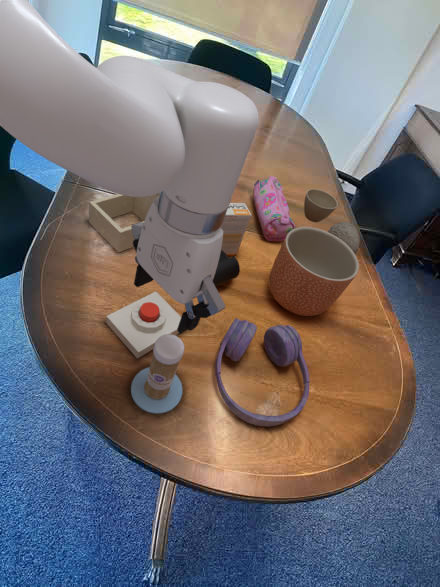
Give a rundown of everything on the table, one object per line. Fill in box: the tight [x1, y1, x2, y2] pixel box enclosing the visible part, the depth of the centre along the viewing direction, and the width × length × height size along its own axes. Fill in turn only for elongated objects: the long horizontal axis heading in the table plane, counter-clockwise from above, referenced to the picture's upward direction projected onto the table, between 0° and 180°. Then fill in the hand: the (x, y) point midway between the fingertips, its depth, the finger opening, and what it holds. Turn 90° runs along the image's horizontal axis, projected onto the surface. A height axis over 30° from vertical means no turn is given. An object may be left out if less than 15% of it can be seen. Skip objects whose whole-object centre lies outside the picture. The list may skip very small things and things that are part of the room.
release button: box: [139, 302, 160, 322], centre depth 73 cm, size 4×4×2 cm
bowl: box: [303, 188, 339, 223], centre depth 118 cm, size 10×10×7 cm
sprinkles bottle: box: [144, 334, 185, 399], centre depth 63 cm, size 5×5×14 cm
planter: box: [268, 226, 360, 317], centre depth 88 cm, size 17×17×15 cm
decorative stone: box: [327, 221, 360, 255], centre depth 107 cm, size 10×8×10 cm
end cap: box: [213, 250, 241, 288], centre depth 87 cm, size 10×7×7 cm
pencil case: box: [252, 175, 296, 242], centre depth 110 cm, size 21×9×9 cm, turn 4°
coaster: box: [130, 366, 183, 415], centre depth 68 cm, size 9×9×1 cm
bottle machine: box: [88, 193, 160, 253], centre depth 88 cm, size 13×12×16 cm
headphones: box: [214, 317, 311, 427], centre depth 73 cm, size 18×8×20 cm
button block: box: [105, 291, 182, 359], centre depth 75 cm, size 12×10×4 cm
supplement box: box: [221, 202, 252, 256], centre depth 94 cm, size 8×5×13 cm, turn 108°
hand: (164, 304), depth 55 cm, fingers open, 9 cm apart
